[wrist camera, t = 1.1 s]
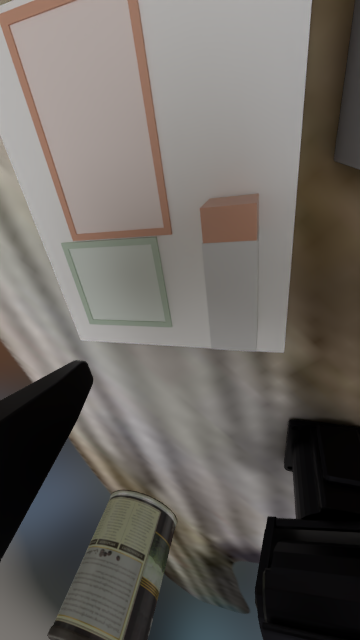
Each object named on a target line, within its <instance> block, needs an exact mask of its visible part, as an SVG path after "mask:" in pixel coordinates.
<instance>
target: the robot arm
mask: <svg viewBox="0 0 360 640" xmlns="http://www.w3.org/2000/svg"><path fill="white" fill-rule="evenodd" d="M92 384H93V376H92V374H91V371H90V368H89V366H88V364H87V362H86V361H80V360H75V361H73V362H71V363H69V364H67V365H65V366H63V367H61V368H60V369H58V370H56V371H54V372H52V373H50V374H48V375H47V376H45V377H43V378H41V379H39V380H37V381H36V382H34V383H32V384H30V385H28V386H26V387H24V388H23V389H21V390H19V391H17V392H15V393H13V394H11V395H10V396H8V397H6V398H4V399H2V400H0V561H1V558H2V557H3V555H4V553H5V552H6V550H7V548H8V546H9V544H10V543H11V541H12V539H13V537H14V535H15V533H16V532H17V530H18V528H19V526H20V524H21V522H22V521H23V519H24V517H25V515H26V513H27V511H28V510H29V508H30V506H31V504H32V502H33V500H34V499H35V497H36V495H37V493H38V491H39V489H40V488H41V486H42V484H43V482H44V480H45V478H46V477H47V475H48V473H49V471H50V469H51V467H52V466H53V464H54V462H55V460H56V458H57V456H58V455H59V453H60V451H61V449H62V447H63V445H64V444H65V442H66V440H67V438H68V436H69V434H70V433H71V431H72V429H73V427H74V425H75V423H76V421H77V419H78V417H79V415H80V412H81V410H82V408H83V405H84V403H85V401H86V398H87V396H88V394H89V391H90V389H91V387H92ZM284 468H285V469H286V470H288V471H292V472H293V482H294V497H295V512H296V519H284V518H276V517H269V516H268V518H267V524H266V529H265V532H264V538H263V544H262V550H261V556H260V562H259V569H258V575H257V581H256V586H255V603H256V607H257V611H258V619H259V624H260V629H261V633H262V637H263V640H360V428H357V427H350V426H342V425H334V424H326V423H318V422H310V421H302V420H290V421H289V423H288V431H287V441H286V450H285V459H284Z"/></svg>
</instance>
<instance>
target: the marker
mask: <svg viewBox="0 0 360 640" xmlns="http://www.w3.org/2000/svg"><path fill="white" fill-rule="evenodd" d="M200 217H201V228H202V239H203V242H202V253H203V263H204V274H205V285H206V295H207V306H208V317H209V327H210V338H211V349H217V350H233V351H250V352H256V350H257V335H258V300H259V236H260V226H259V194H250V195H240V196H230V197H220V198H211V199H209V200H208V201H207V202H206V203H205V204H204V205H203V206H201V207H200Z"/></svg>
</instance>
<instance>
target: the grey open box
mask: <svg viewBox="0 0 360 640" xmlns="http://www.w3.org/2000/svg"><path fill="white" fill-rule="evenodd" d="M334 161H336V162H339V163H342V164H345V165H348V166H351V167H354V168H356V169H359V170H360V0H355V6H354V13H353V21H352V28H351V35H350V43H349V50H348V58H347V65H346V72H345V80H344V87H343V95H342V102H341V110H340V117H339V124H338V132H337V139H336V147H335V154H334Z"/></svg>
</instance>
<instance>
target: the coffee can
mask: <svg viewBox="0 0 360 640" xmlns="http://www.w3.org/2000/svg"><path fill="white" fill-rule="evenodd" d="M176 524H177V519H176V517H175V515H174V514H173V512H172V511H171V510H170V509H169V508H168V507H166V506H165V505H164V504H162V503H161V502H159V501H157V500H156V499H154V498H152V497H150V496H147V495H144V494H141V493H138V492H134V491H128V490H121V491H116V492H114V493H113V494H112V495H111V496H110V500H109V502H108V505H107V507H106V509H105V511H104V513H103V516H102V518H101V520H100V522H99V525H98V527H97V529H96V531H95V533H94V536H93V538H92V540H91V542H90V544H89V547H88V549H87V551H86V553H85V556H84V558H83V560H82V562H81V565H80V567H79V569H78V571H77V574H76V576H75V578H74V580H73V583H72V585H71V587H70V589H69V592H68V594H67V596H66V598H65V601H64V603H63V605H62V607H61V609H60V611H59V614H58V616H57V618H56V620H55V623H54V625H53V626H52V627H51V628H50V630H49V633H48V635H47V636H48V637H49V639H51V640H147V639H148V635H149V631H150V627H151V623H152V619H153V615H154V611H155V607H156V603H157V599H158V595H159V591H160V586H161V582H162V578H163V574H164V570H165V566H166V562H167V558H168V554H169V550H170V546H171V542H172V538H173V534H174V530H175V526H176Z"/></svg>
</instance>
